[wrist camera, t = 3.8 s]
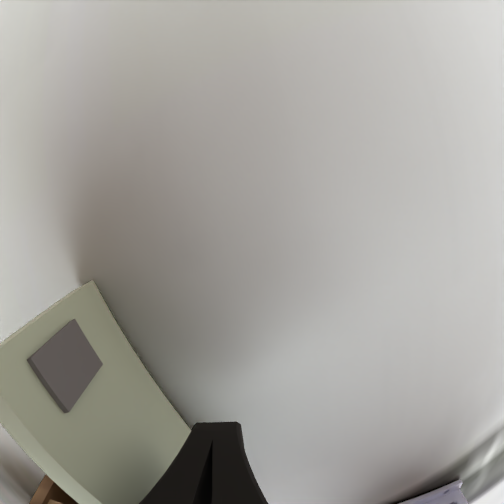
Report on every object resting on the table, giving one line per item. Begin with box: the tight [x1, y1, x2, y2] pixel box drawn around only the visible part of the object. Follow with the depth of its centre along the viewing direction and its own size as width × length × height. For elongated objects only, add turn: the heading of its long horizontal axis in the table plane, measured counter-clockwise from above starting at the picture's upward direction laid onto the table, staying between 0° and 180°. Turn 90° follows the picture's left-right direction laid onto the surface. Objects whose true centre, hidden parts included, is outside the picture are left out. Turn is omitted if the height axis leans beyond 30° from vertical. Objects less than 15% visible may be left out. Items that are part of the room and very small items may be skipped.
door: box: [0, 280, 191, 504], centre depth 8 cm, size 11×1×6 cm, turn 24°
